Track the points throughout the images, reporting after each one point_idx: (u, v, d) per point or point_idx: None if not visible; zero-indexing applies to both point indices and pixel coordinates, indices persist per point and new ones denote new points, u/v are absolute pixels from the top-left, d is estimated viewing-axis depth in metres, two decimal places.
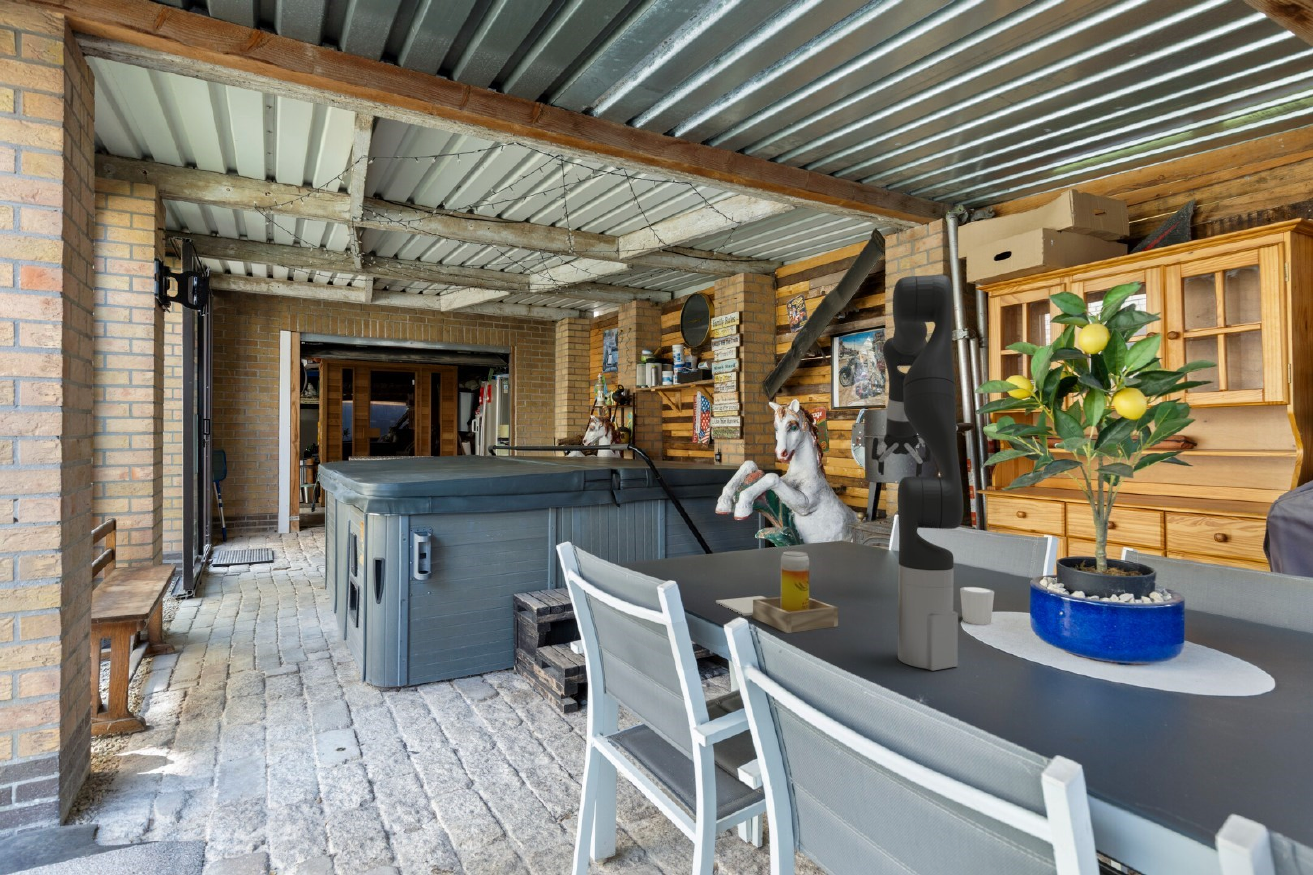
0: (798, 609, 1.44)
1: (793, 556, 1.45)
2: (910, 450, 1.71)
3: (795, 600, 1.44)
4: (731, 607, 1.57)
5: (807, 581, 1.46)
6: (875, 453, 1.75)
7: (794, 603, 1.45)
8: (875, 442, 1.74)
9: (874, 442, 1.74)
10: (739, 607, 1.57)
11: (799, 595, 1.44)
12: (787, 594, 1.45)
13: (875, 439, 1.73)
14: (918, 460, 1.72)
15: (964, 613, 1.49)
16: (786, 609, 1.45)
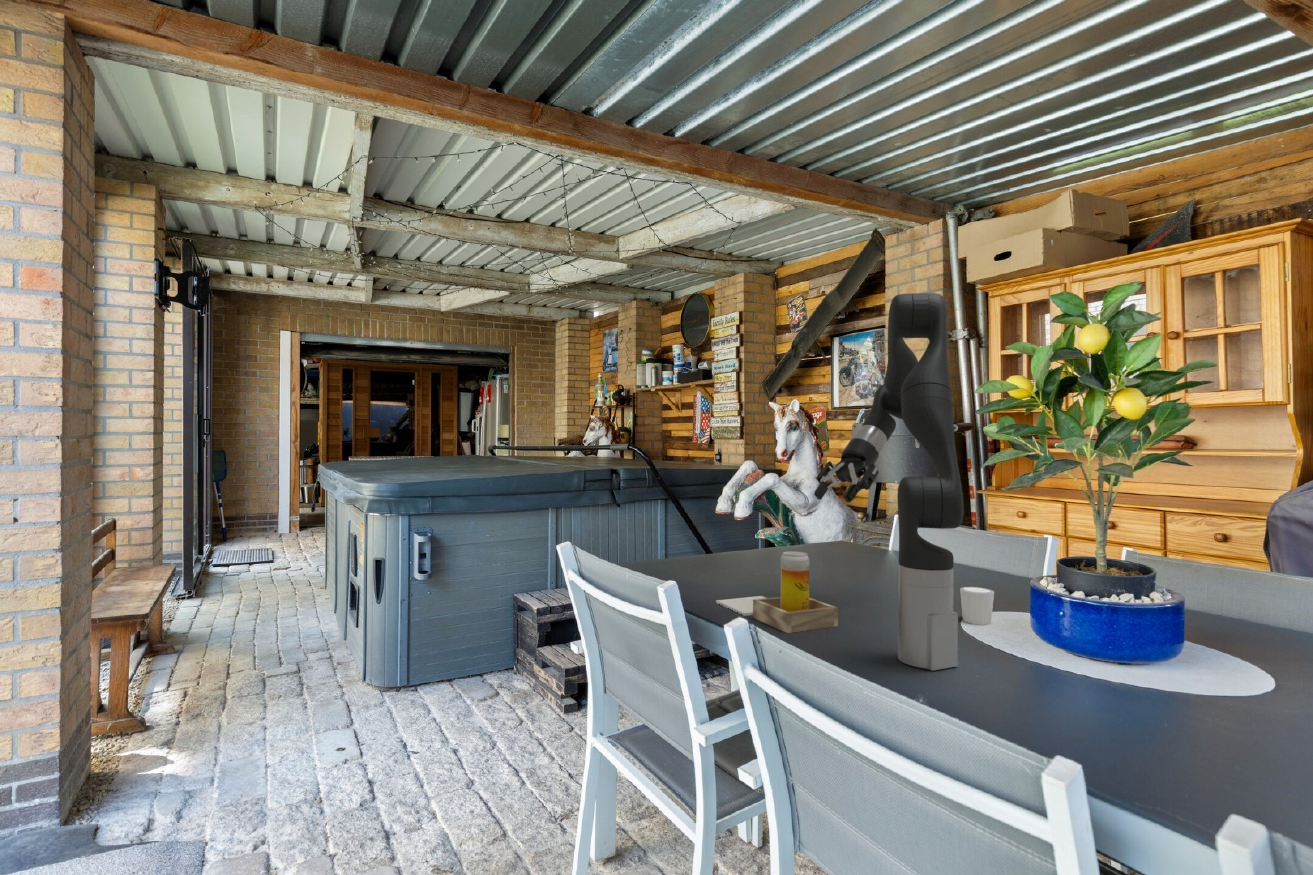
0: (798, 609, 1.44)
1: (793, 556, 1.45)
2: (851, 470, 1.55)
3: (795, 600, 1.44)
4: (731, 607, 1.57)
5: (807, 581, 1.46)
6: (821, 474, 1.61)
7: (794, 603, 1.45)
8: (827, 464, 1.63)
9: (826, 464, 1.63)
10: (739, 607, 1.57)
11: (799, 595, 1.44)
12: (787, 594, 1.45)
13: (829, 462, 1.63)
14: (853, 481, 1.52)
15: (964, 613, 1.49)
16: (786, 609, 1.45)
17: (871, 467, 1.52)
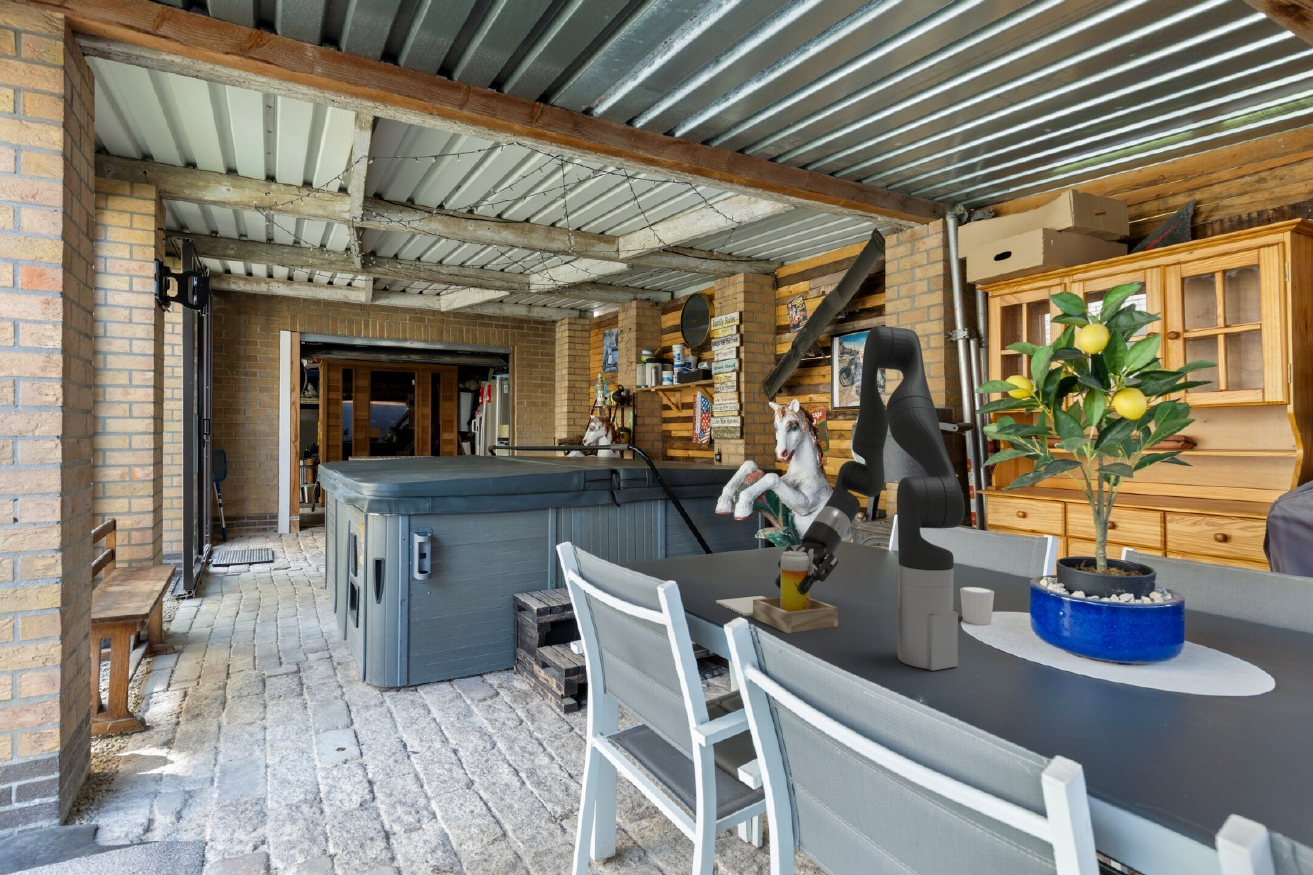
0: (798, 609, 1.44)
1: (793, 556, 1.45)
2: (810, 557, 1.47)
3: (795, 600, 1.44)
4: (731, 607, 1.57)
5: None
6: None
7: (794, 603, 1.44)
8: (787, 549, 1.55)
9: (786, 549, 1.55)
10: (739, 607, 1.57)
11: (799, 594, 1.44)
12: (787, 594, 1.45)
13: (788, 546, 1.55)
14: (808, 571, 1.45)
15: (964, 613, 1.49)
16: (786, 609, 1.45)
17: (829, 558, 1.44)
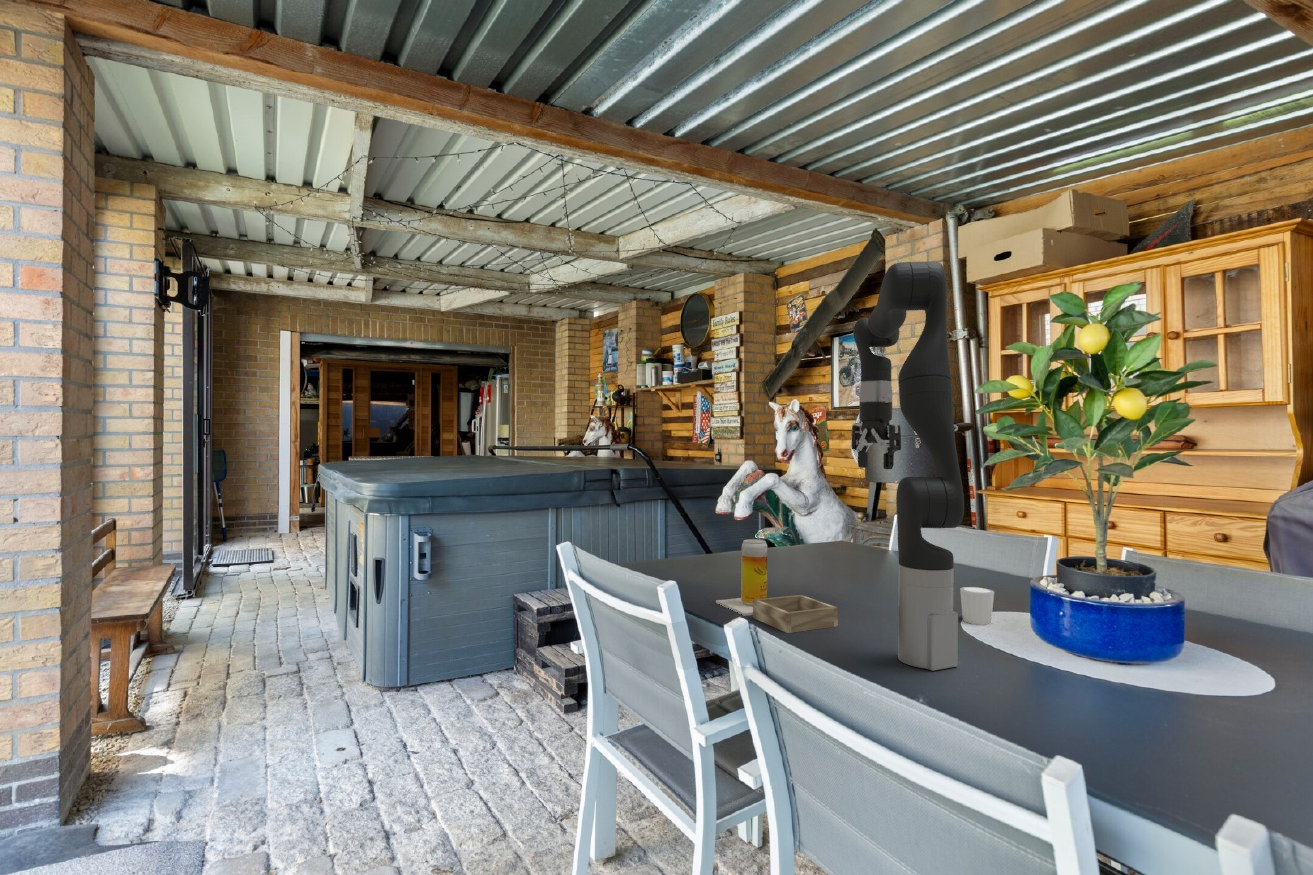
0: (756, 592, 1.58)
1: (752, 543, 1.58)
2: (876, 437, 1.59)
3: (754, 584, 1.58)
4: (731, 607, 1.57)
5: (765, 566, 1.59)
6: (854, 442, 1.67)
7: (753, 587, 1.58)
8: (853, 430, 1.67)
9: (853, 430, 1.67)
10: (739, 607, 1.57)
11: (757, 578, 1.58)
12: (747, 578, 1.59)
13: (853, 426, 1.67)
14: (884, 449, 1.58)
15: (964, 613, 1.49)
16: (746, 592, 1.59)
17: (891, 430, 1.56)
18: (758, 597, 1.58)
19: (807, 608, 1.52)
